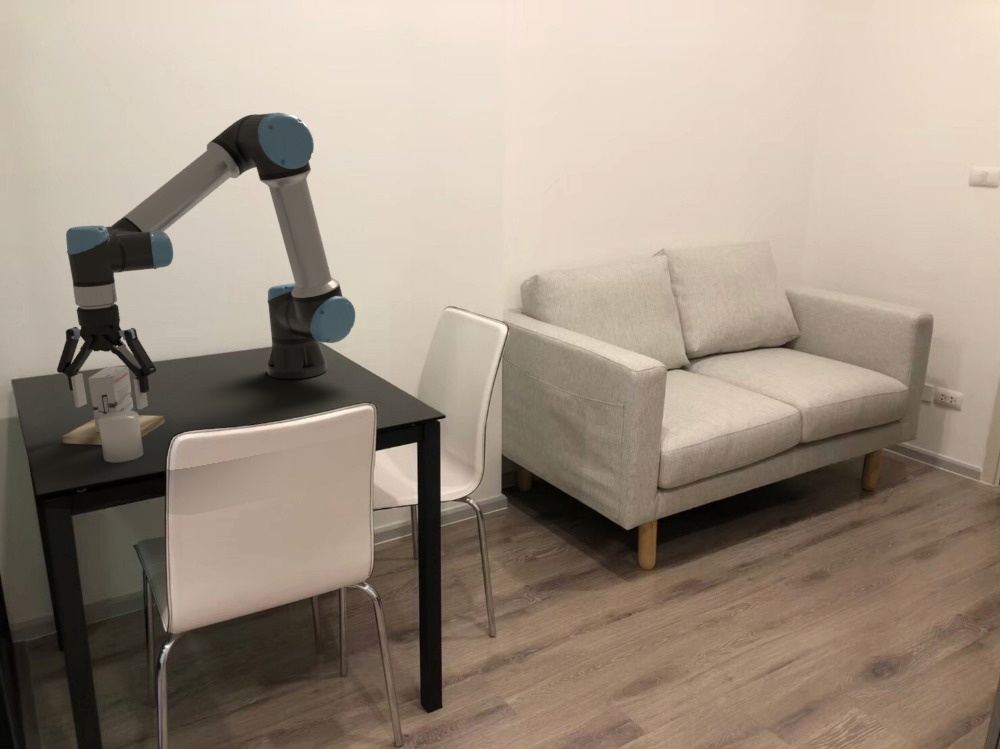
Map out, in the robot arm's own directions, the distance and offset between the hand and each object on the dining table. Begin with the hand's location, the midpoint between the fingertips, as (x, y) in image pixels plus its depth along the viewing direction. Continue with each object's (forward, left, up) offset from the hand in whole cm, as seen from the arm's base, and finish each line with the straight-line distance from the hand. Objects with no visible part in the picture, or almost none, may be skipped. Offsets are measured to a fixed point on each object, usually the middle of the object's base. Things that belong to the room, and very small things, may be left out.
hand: (111, 406), depth 172 cm
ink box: (0, 0, -4) cm, 4 cm away
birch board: (0, 0, -6) cm, 6 cm away
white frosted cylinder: (-9, +12, -6) cm, 16 cm away
